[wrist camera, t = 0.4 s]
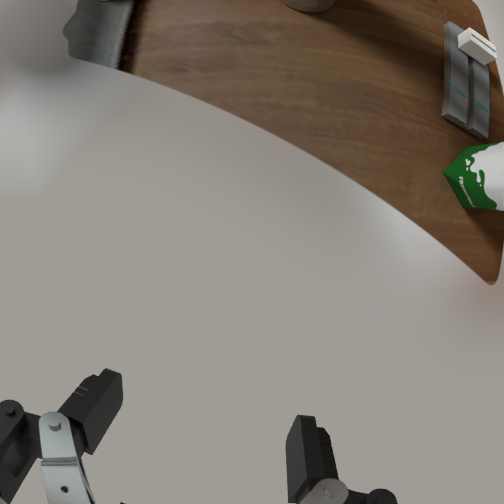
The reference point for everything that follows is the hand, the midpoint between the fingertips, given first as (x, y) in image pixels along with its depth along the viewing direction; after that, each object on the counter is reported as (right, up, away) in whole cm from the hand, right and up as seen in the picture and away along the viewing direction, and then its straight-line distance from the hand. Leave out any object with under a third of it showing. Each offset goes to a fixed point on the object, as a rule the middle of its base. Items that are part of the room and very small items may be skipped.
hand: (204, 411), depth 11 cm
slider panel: (+38, +36, +20) cm, 56 cm away
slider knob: (+39, +41, +18) cm, 59 cm away
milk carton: (+35, +19, +24) cm, 47 cm away
